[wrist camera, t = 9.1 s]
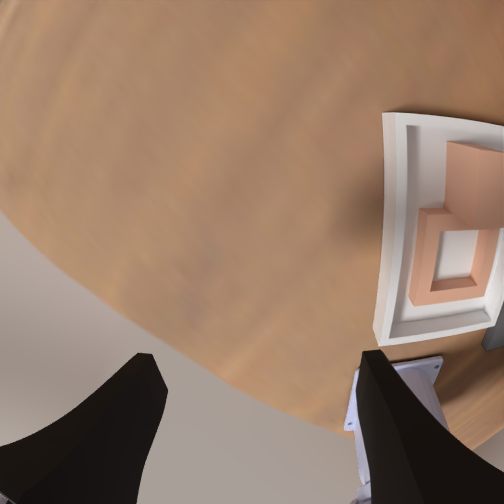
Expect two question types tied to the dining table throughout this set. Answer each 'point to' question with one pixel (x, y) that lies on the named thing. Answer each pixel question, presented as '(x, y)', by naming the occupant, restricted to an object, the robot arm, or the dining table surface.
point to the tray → (450, 242)
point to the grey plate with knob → (495, 333)
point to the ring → (461, 223)
